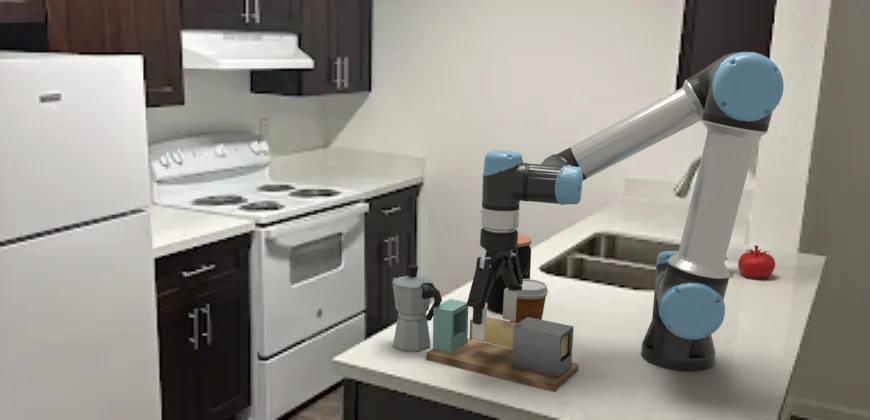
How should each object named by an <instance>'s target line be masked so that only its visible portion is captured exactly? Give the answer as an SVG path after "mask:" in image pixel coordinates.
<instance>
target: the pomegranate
mask: <svg viewBox="0 0 870 420" xmlns="http://www.w3.org/2000/svg"><path fill="white" fill-rule="evenodd" d="M737 268H738V271H739V272H740V274H741V275H742V276H743V277H745V278H748V279H756V280H757V279H768V278H769V277H771V276H772V274H773V272H774V270H775V268H776V261H775V258H774V256H772V255H770V252H769V251H766V250H765V251H763V249H759V245H756V244H755V245H754V250H753V249H752V248H750V249H748V250H747V249H746V250H745V252H744V253H742V254H741V256H740V257H739V259H738V262H737Z"/></svg>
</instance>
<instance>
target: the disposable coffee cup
mask: <svg viewBox="0 0 870 420" xmlns="http://www.w3.org/2000/svg"><path fill="white" fill-rule="evenodd" d="M521 286H522V290H521V291H519V290H517V304H516V321H510V320H509V321H510V322H514V323H519V322H521V321H522V320H524V319H525V318H527V317H531V318H535V319H540V320H543V315H544V310H545V304H546V298H547V295H548V294H549V289H548V287H547V284H546V283H545V282H544V281H541V280H537V279H536V280H535V279H531V278H530V279H523V284H522V285H521ZM506 289H508V288H506Z"/></svg>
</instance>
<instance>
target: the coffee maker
mask: <svg viewBox="0 0 870 420" xmlns="http://www.w3.org/2000/svg"><path fill="white" fill-rule="evenodd" d="M406 267H407V271H408V272H407V273H408V275H405V276H399V277H392V279H393V280H392V290H393V299H394V304H395V305H394V307H395V310H396V311H397V320H396V325H395V333H394V339H393V343H392V347H393V348H394V349H397V350H399V351H400V352H405V353H406V352H407V353H408V352H409V353H415V352H416V353H419V352H423V351H425V350H428V349H429V350H430V348H431V337H430V330H429V322H430V321H432V320H433V308H434V307H437V306H439V305H440V304H441V303H442V301H443V297H442V295H441V291H440V290H439V289H438V288H436V285H435V284H434V282H433V281H432V280H431V279H429V278H428V277H424V276H418V275H417V274H418V270H419V266H418V265H416V264H409V265H407V266H406ZM432 299H433V300H434V302H433V304H432V305H431V300H432ZM430 305H431V306H430Z"/></svg>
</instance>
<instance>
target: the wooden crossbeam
mask: <svg viewBox="0 0 870 420" xmlns="http://www.w3.org/2000/svg"><path fill="white" fill-rule="evenodd" d="M472 321H473V318H471V319H470V320H469V339H472V340H476V341H480V342H485V343H489V344H493V345H498V346H502V347H506V348H511V349H513V327H514V325H516V324H517V323H514V322H510V320H505V319H500V318H494V317H490V316H487V319H486V339H485V340H480V339H476V338H472ZM567 350H568V335H566V336H565V337H564V338H562V348H561V358H562V357H563V356H564V355H566V354H567Z"/></svg>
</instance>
